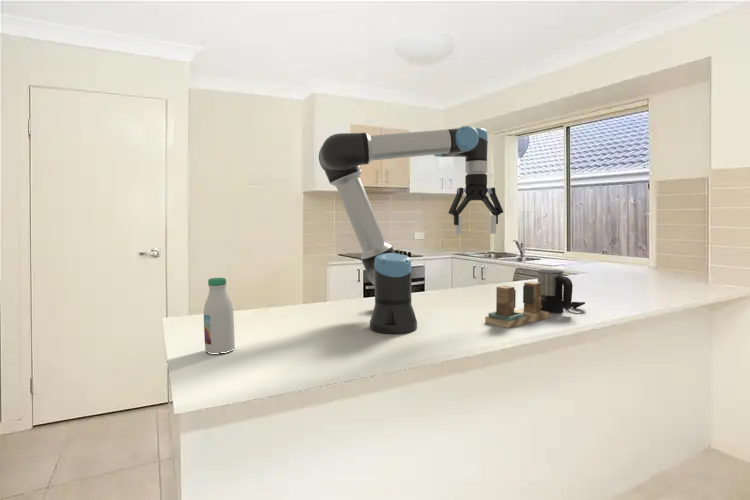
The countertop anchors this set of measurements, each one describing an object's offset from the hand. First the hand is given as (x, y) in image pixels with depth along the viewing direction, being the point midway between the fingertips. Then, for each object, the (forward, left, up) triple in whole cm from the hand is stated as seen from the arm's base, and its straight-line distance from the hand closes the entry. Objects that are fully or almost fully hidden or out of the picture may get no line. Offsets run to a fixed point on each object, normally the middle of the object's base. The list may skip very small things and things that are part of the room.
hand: (476, 234), depth 163 cm
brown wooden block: (-3, -16, -27) cm, 31 cm away
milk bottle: (-88, +12, -29) cm, 93 cm away
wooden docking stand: (+3, -16, -29) cm, 33 cm away
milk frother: (+28, -16, -29) cm, 43 cm away
